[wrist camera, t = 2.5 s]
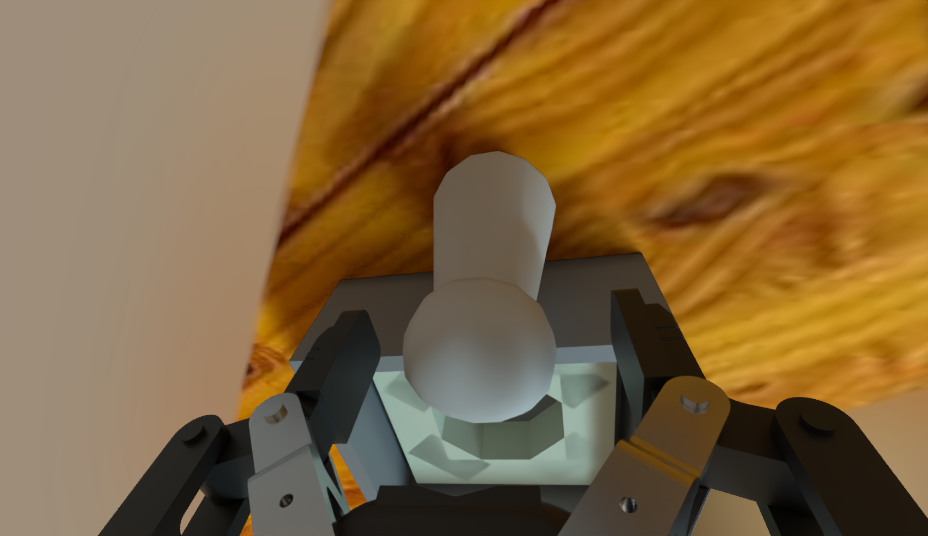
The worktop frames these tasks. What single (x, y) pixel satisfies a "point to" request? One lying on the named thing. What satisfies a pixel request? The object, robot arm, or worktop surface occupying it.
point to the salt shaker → (485, 294)
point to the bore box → (510, 441)
